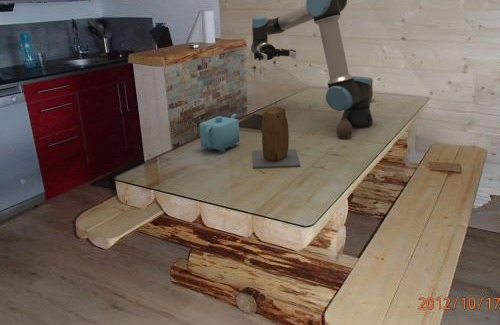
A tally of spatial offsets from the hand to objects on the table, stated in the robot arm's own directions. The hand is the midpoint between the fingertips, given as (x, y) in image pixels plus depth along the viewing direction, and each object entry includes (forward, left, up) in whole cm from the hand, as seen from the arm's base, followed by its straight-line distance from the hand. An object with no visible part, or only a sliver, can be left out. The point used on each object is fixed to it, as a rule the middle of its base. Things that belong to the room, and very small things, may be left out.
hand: (280, 56), depth 200 cm
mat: (+5, +36, -35) cm, 50 cm away
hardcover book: (+11, -14, -36) cm, 40 cm away
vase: (-27, +12, -35) cm, 46 cm away
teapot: (+27, +18, -35) cm, 48 cm away
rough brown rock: (-43, -51, -35) cm, 76 cm away
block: (+5, +36, -34) cm, 50 cm away
